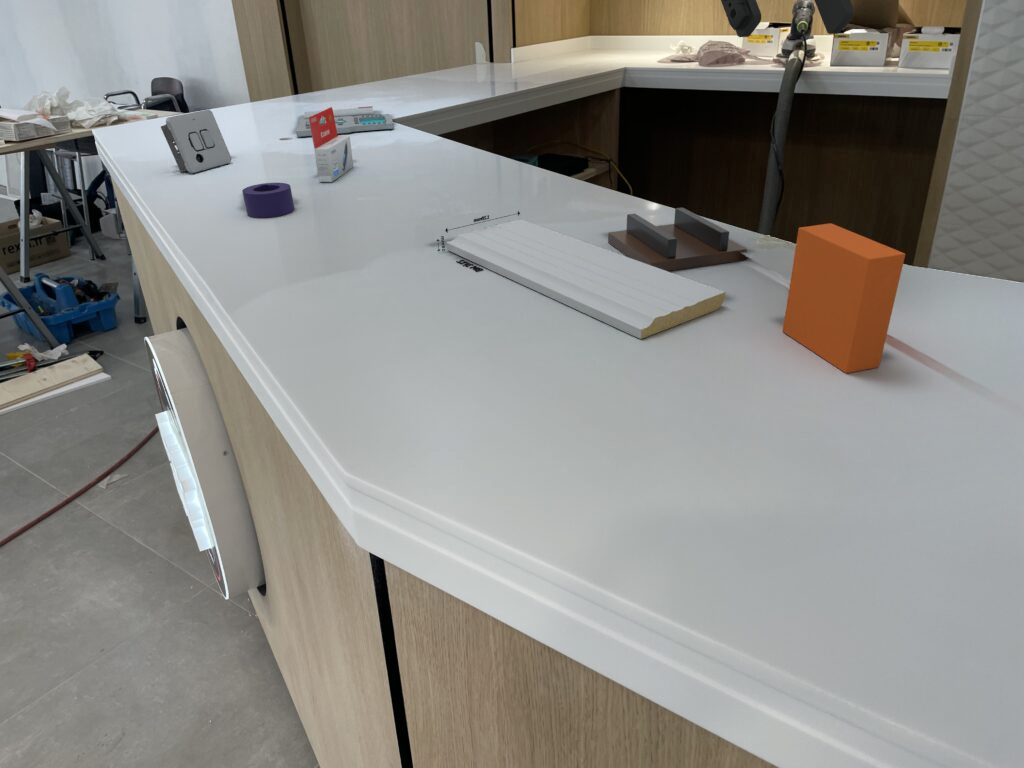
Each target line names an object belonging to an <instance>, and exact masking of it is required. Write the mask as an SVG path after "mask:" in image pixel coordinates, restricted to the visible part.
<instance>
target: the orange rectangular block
mask: <svg viewBox="0 0 1024 768" xmlns="http://www.w3.org/2000/svg"><path fill="white" fill-rule="evenodd" d="M905 258H906V253H904V252H902V251H901V250H897V249H896V248H893V247H890V246H888V245H886V244H883V243H881V242H878V241H875V240H874V239H871V238H868V237H866V236H863V235H862V234H861V235H860V234H858V233H856V232H853V231H851V230H849V229H846V228H844V227H841V226H838V225H836V224H834V223H831V222H830V223H824V224H815V225H809V226H801V227H798V231H797V236H796V243H795V250H794V256H793V263H792V267H791V274H790V281H789V286H788V294H787V299H786V300H787V301H786V307H785V311H784V312H785V313H784V318H783V325H782V332H783V333H784V334H786V335H787V336H788V337H790V338H791V339H793V340H794V341H796V342H797V343H799V344H800V345H802V346H804V347H805V348H807V350H809V351H812V353H814V354H816V355H817V356H819V357H821V359H823V360H824V361H826V362H828V363H829V364H831V365H832V366H834V367H835V368H837V369H839V370H840V371H842V372H843V373H845V374H851V373H855V372H860V371H866V370H870V369H876V368H879V367H880V364H881V361H882V357H883V351H884V348H885V343H886V339H887V335H888V330H889V327H890V321H891V318H892V314H893V309H894V305H895V301H896V296H897V293H898V287H899V283H900V280H901V276H902V270H903V266H904V262H905Z"/></svg>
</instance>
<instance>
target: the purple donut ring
mask: <svg viewBox="0 0 1024 768" xmlns="http://www.w3.org/2000/svg"><path fill="white" fill-rule="evenodd" d="M291 187H292V186H291V185H290V184H289V183H286V182H265V183H264V182H263V183H257V184H254V185H250V186H249V185H248V186H247V187H244V188H243V189H242V190H241V192H242V195H243V201H244V206H245V210H246V214H247V216H248V217H250V218H255V219H268V218H276V217H281V216H285V215H288V214H291V213H292V212H294V211H295V203H294V198H293V193H292V188H291Z"/></svg>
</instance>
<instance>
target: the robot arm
mask: <svg viewBox="0 0 1024 768" xmlns="http://www.w3.org/2000/svg"><path fill="white" fill-rule="evenodd" d="M720 1H721V6H722V7H723V11H724V13H725V15H726V18H727V22H728V24H729V26H730V27H731V28H732V30H733V31H735V33H736V35H737V37H738V38H749V37H750V36H751V35H752V34H753V32H754V31H755V30H756V28H757V27H758V26H759V25H760V24H761V21H762V11H761V9H760V7H759V4H758V2H757V0H720ZM814 3H815V5H816V8H817V10H818V13H819V15H820V18H821V21H822V23H823V26H824V28H825V31H826V33H827V34H828V35H837V34H840V33H841V32H842V31H843V30H844V28H845V27H847V25H848V24H850V22H851V21H852V19H853V17H854V13H855V10H854V5H853V4H852V1H851V0H814Z"/></svg>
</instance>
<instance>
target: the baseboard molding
mask: <svg viewBox="0 0 1024 768" xmlns="http://www.w3.org/2000/svg"><path fill="white" fill-rule="evenodd" d="M520 214H521V212H520V211H518V210H517V213H513V214H509V215H505V216H500V217H497V218H494V219H490V215H489V214H487V215H484V216H481V217H478V218H474V219H473V223H471V224H467V225H462V226H459V227H453V228H451V229H448V228H445V230H444V231H445V232H446V234H448V233H449V231H452V230H455V229H460V228H465V227H467V226H473V225H477V224H480V223H485V222H490V221H493V220H497V219H503V218H507V217H510V216H514V215H517V217H519V216H520ZM440 240H441V248H440V246H439V245H440V244H439V242H440ZM436 242H437V247H438V249H437V252H440V251H442V252H445V251H446V250H447V251H449V252H451V253H453V254H455V255H457V256H460V257H462V258H464V259H460V260H459V261H458V260H455V262H456V263H458V264H460V265H462V267H464V266H465V267H466V268H469V269H472V270H473V271H475V272H476V273H477V272H482V271H484V268H485V269H488V270H490V271H492V272H494V273H496V274H499V275H501V276H503V277H505V278H508V279H510V280H512V281H514V282H516V283H517V284H519V285H522V286H524V287H527V288H529V289H531V290H533V291H535V292H538V293H540V294H542V295H544V296H546V297H548V298H551V299H553V300H555V301H557V302H559V303H561V304H564V305H566V306H567V307H570V308H572V309H574V310H577V311H578V312H580V313H583V314H585V315H587V316H590V317H592V318H594V319H596V320H599V321H601V322H603V323H605V324H607V325H608V326H610V327H614V328H616V329H618V330H620V331H621V332H624V333H627V334H629V335H631V336H633V337H635V338H637V339H639V340H643V339H644V338H647V337H650V336H652V335H656V334H658V333H661V332H663V331H665V330H668V329H671V328H674V327H676V326H678V325H681V324H684V323H686V322H689V321H691V320H694V319H697V318H699V317H702V316H705V315H707V314H710V313H713V312H714V311H717V310H718V309H720V308H721V307H722V305H723V304H724V301H725V298H726V291H724V290H721V289H718V288H716V287H713V286H709V285H707V284H704V283H702V282H699V281H696V280H693V279H690V278H688V277H684V276H682V275H679V274H676V273H673V272H672V271H665V270H662V269H659V268H656V267H654V266H651V265H648V264H645V263H642V262H640V261H637V260H634V259H631V258H629V257H627V256H626V255H624V254H620V253H617V252H614V251H611V250H609V249H607V248H606V249H605V248H603V247H600V246H597V245H594V244H591V243H588V242H586V241H583V240H580V239H579V238H575V237H572V236H569V235H566V234H563V233H561V232H558V231H555V230H553V229H550V228H546V227H543V226H541V225H538V224H535V223H532V222H530V221H527V220H524V219H522V218H519V219H515V220H511V221H507V222H503V223H498V224H495V225H494V226H493V225H492V226H490V227H483V228H481V229H477V230H475V229H474V230H473V229H472V230H471V231H469V232H465V233H464V232H462V233H457V234H456V235H455V237H454V238H453V239H452V240H449V241H446V242H445V239H444V236H443V235H441V236H440V239H438V238H437V240H436ZM465 259H466V260H465ZM467 260H468V261H467ZM470 261H471V262H473V263H471V262H470ZM474 264H477V265H479V266H477V265H474ZM480 266H482V267H483V268H482V267H480Z"/></svg>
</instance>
